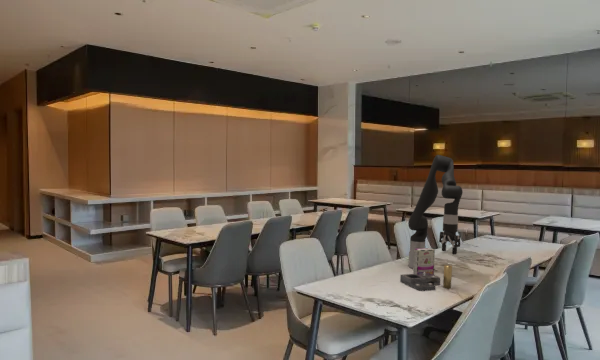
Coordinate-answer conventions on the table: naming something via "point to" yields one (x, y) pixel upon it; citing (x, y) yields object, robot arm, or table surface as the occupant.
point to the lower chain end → (419, 285)
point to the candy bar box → (424, 261)
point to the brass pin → (447, 276)
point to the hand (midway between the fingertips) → (448, 252)
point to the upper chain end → (421, 278)
